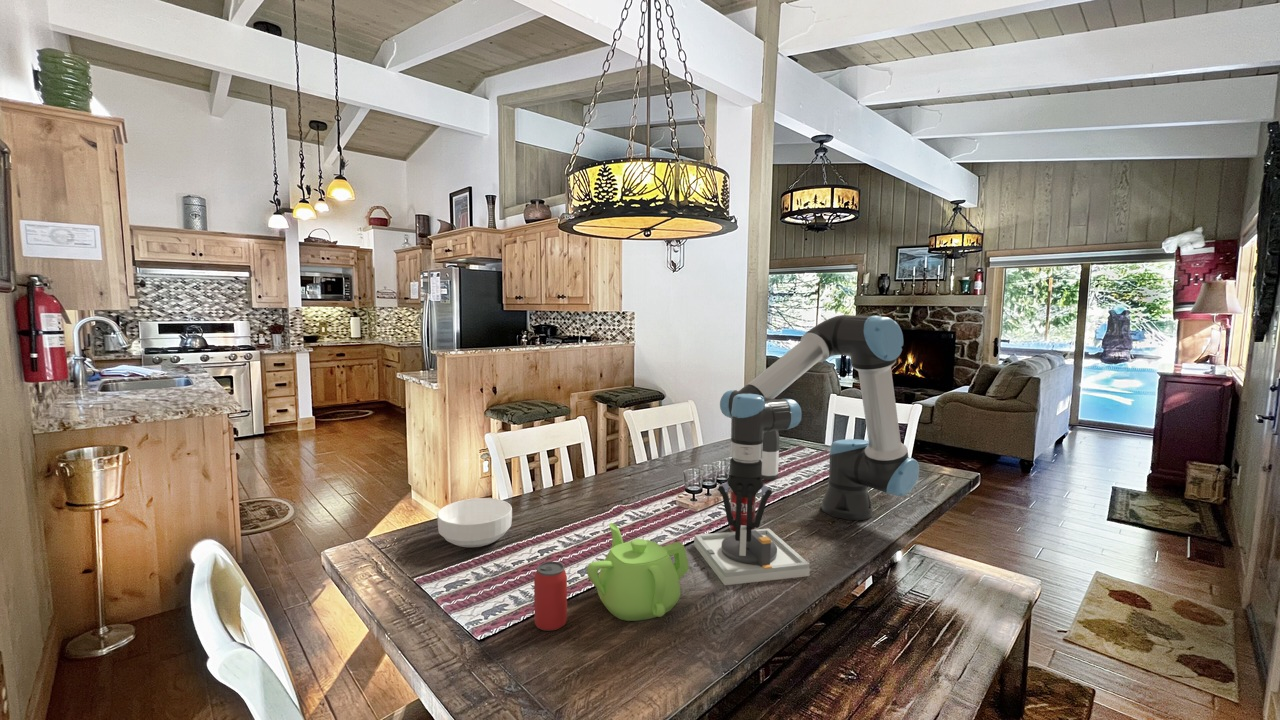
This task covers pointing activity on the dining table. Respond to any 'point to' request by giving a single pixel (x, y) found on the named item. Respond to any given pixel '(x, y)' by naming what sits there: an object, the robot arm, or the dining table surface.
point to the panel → (738, 573)
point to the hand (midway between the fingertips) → (742, 553)
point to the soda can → (743, 509)
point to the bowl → (474, 521)
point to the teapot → (639, 577)
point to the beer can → (550, 596)
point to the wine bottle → (770, 455)
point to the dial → (751, 549)
